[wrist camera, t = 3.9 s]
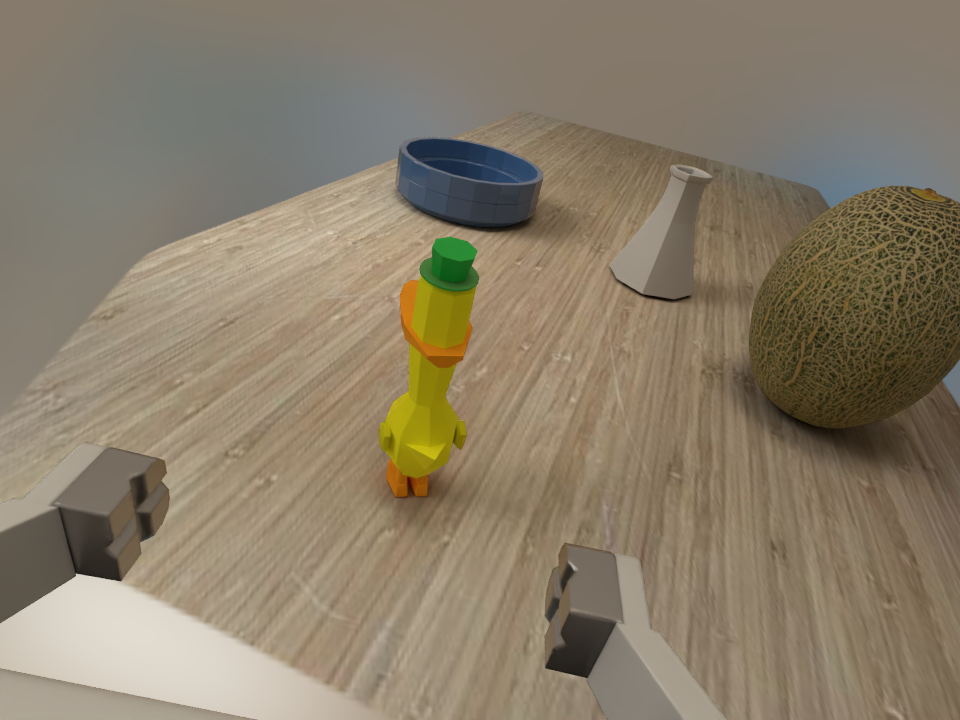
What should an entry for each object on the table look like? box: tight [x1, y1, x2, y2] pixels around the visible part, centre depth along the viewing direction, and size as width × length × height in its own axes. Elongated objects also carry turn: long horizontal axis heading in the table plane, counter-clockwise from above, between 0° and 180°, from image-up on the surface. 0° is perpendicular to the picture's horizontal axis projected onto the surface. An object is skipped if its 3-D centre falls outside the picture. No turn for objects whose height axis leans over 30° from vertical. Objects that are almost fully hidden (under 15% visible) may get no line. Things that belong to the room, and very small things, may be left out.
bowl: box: [395, 137, 543, 227], centre depth 60 cm, size 14×14×4 cm
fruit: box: [749, 186, 960, 429], centre depth 36 cm, size 11×11×15 cm
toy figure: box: [379, 237, 479, 497], centre depth 25 cm, size 7×4×12 cm, turn 15°
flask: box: [610, 165, 713, 299], centre depth 51 cm, size 7×7×10 cm
